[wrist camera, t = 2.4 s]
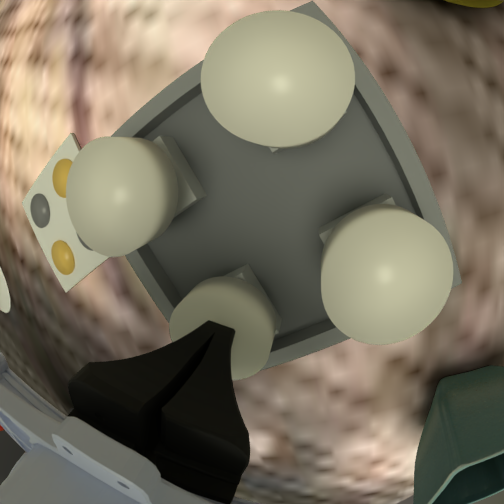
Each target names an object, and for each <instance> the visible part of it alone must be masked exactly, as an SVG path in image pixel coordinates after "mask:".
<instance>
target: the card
mask: <svg viewBox="0 0 504 504" xmlns="http://www.w3.org/2000/svg"><path fill="white" fill-rule="evenodd" d="M80 150H81V148H80V146H79V144H78V141H77V139H76V137H75V134H74V133H70V135H69V136H68V137H67V138H66V140H65V141H64V142H63V143H62V145H61V146H60V147H59V149H58V150H57V151H56V153H55V154H54V155H53V157H52V158H51V159H50V161H49V162H48V163H47V165H46V166H45V168H44V169H43V171H42V172H41V174H40V175H39V176H38V178H37V179H36V181H35V183H34V184H33V186H32V187H31V189H30V190H29V192H28V194H27V195H26V197H25V198H24V200H23V202H22V204H23V207H24V209H25V212H26V214H27V217H28V219H29V221H30V224H31V226H32V228H33V230H34V233H35V235H36V237H37V239H38V241H39V243H40V245H41V248H42V250H43V252H44V254H45V256H46V258H47V260H48V261H49V263H50V265H51V267H52V269H53V271H54V273H55V275H56V276H57V278H58V280H59V282H60V284H61V285H62V287H63V289H64V290H65V292H68V291H69V290H70V289H71V288H73V287H74V286H75V285H76V284H77V283H79V282H80V281H81V280H82V279H83V278H85V277H86V276H87V275H88V274H89V273H91V272H92V271H93V270H94V269H96V268H97V267H98V266H99V265H101V264H102V263H103V262H104V261H106V260H107V259H108V258H109V256H104V255H101V254H99V253H97V252H95V251H94V250H92V249H91V248H90V247H88V246H87V245H86V244H85V243H84V242H83V240H82V239H81V238H80V237H79V235H78V234H77V232H76V230H75V229H74V226H73V224H72V222H71V219H70V216H69V213H68V209H67V202H66V184H67V178H68V173H69V170H70V167H71V165H72V163H73V161H74V159H75V157H76V155H77V154H78V153H79V151H80Z"/></svg>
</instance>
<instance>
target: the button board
mask: <svg viewBox="0 0 504 504" xmlns="http://www.w3.org/2000/svg"><path fill="white" fill-rule="evenodd" d="M290 11H292V12H297V13H301V14H304V15H307V16H310V17H312V18H315V19H317V20H319V21H320V22H322V23H324V24H325V25H327V26H328V27H329V28H330V29H332V30H333V31H334V32H335V33H336V34H337V35H338V36H339V37H340V38H341V40H342V41H343V43H344V44H345V45H346V47H347V49H348V51H349V53H350V55H351V58H352V61H353V64H354V70H355V86H354V92H353V95H352V98H351V101H350V103H349V105H348V107H347V109H346V111H345V112H344V114H343V116H342V117H341V119H340V120H339V122H338V123H337V125H336V126H335V127H334V128H333V129H332V130H331V131H330V132H329V133H328V134H326V135H325V136H324V137H322V138H321V139H319V140H317V141H315V142H313V143H311V144H308V145H305V146H302V147H297V148H288V149H280V148H272V147H266V146H263V145H259V144H256V143H253V142H249V141H246V140H244V139H242V138H239V137H237V136H236V135H234V134H232V133H231V132H229V131H228V130H227V129H225V128H224V127H223V126H222V125H221V124H220V123H219V122H218V121H217V120H216V119H215V118H214V116H213V115H212V114H211V112H210V111H209V109H208V107H207V105H206V103H205V100H204V97H203V94H202V89H201V70H202V65H203V61H204V60H203V61H201V62H200V63H198V64H197V65H195V66H194V67H192V68H191V69H190V70H188V71H187V72H186V73H184V74H183V75H181V76H180V77H179V78H177V79H176V80H175V81H174V82H172V83H171V84H170V85H168V86H167V87H166V88H165V89H163V90H162V91H161V92H160V93H158V94H157V95H156V96H155V97H154V98H152V99H151V100H150V101H149V102H148V103H146V104H145V105H144V106H143V107H142V108H141V109H140V110H138V111H137V112H136V113H135V114H134V115H133V116H132V117H131V118H130V119H128V120H127V121H126V122H125V123H124V124H123V125H122V126H121V127H120V128H119V129H118V130H117V131H116V132H115V133H114V134H113V135H112V136H111V137H133V138H142V139H146V140H149V141H151V142H153V143H154V144H156V145H157V146H159V147H160V148H161V149H162V150H163V151H164V152H165V154H166V155H167V156H168V158H169V159H170V161H171V163H172V165H173V167H174V170H175V173H176V177H177V181H178V204H177V208H176V212H175V215H174V218H173V220H172V221H171V223H170V225H169V226H168V228H167V229H166V230H165V231H164V232H163V234H161V235H160V236H159V237H158V238H156V239H154V240H152V241H150V242H149V243H147V244H145V245H143V246H141V247H140V248H138V249H136V250H134V251H132V252H131V253H129V254H126V255H125V256H126V258H127V260H128V261H129V263H130V265H131V266H132V268H133V269H134V271H135V273H136V274H137V276H138V277H139V279H140V281H141V282H142V284H143V285H144V287H145V288H146V290H147V292H148V293H149V295H150V296H151V298H152V299H153V301H154V302H155V304H156V305H157V307H158V308H159V310H160V311H161V312H162V314H163V315H164V317H165V318H166V320H167V321H168V323H170V318H171V315H172V313H173V311H174V309H175V308H176V307H177V305H178V304H179V303H180V302H181V301H182V300H183V299H184V298H185V297H186V296H187V295H188V293H189V292H190V291H191V290H192V289H193V288H194V287H195V286H196V285H197V284H199V283H200V282H202V281H204V280H206V279H209V278H212V277H219V276H227V277H234V278H237V279H241V280H243V281H246V282H248V283H250V284H251V285H253V286H254V287H256V288H257V289H258V290H260V291H261V292H262V293H263V294H264V295H265V296H266V297H267V299H268V300H269V302H270V303H271V305H272V307H273V309H274V312H275V316H276V324H277V325H276V332H275V336H274V339H273V343H272V347H271V350H270V354H269V358H268V360H267V362H266V364H265V365H264V367H263V368H262V369H261V370H264V369H267V368H270V367H273V366H276V365H279V364H283V363H286V362H288V361H291V360H294V359H297V358H300V357H303V356H306V355H308V354H311V353H314V352H317V351H319V350H322V349H325V348H327V347H330V346H332V345H335V344H337V343H340V342H342V341H345V340H347V339H350V337H348V336H347V335H345V334H344V333H342V332H341V331H340V330H339V329H338V328H337V327H336V326H335V325H334V324H333V322H332V321H331V319H330V318H329V316H328V315H327V312H326V310H325V308H324V304H323V301H322V294H321V257H322V252H323V248H324V245H325V243H326V240H327V238H328V237H329V235H330V233H331V232H332V230H333V229H334V228H335V226H336V225H337V224H338V223H339V222H340V221H341V220H342V219H343V218H345V217H346V216H347V215H348V214H350V213H352V212H353V211H355V210H357V209H360V208H362V207H365V206H368V205H373V204H391V205H396V206H399V207H402V208H404V209H406V210H408V211H410V212H412V213H414V214H415V215H417V216H419V217H420V218H422V219H423V220H425V221H427V222H428V223H429V224H431V225H432V226H433V227H435V228H436V229H437V230H438V231H439V233H440V234H441V235H442V236H443V238H444V239H445V241H446V243H447V245H448V247H449V250H450V253H451V256H452V261H453V281H452V287H451V289H452V288H454V287H456V286H457V285H459V284H461V283H462V281H461V277H460V273H459V269H458V265H457V261H456V257H455V254H454V250H453V247H452V244H451V240H450V237H449V234H448V231H447V228H446V225H445V222H444V219H443V216H442V213H441V210H440V208H439V205H438V202H437V200H436V197H435V194H434V192H433V189H432V187H431V185H430V182H429V180H428V177H427V175H426V173H425V171H424V168H423V166H422V164H421V162H420V159H419V157H418V155H417V153H416V151H415V149H414V147H413V145H412V143H411V141H410V139H409V137H408V135H407V133H406V131H405V129H404V127H403V126H402V124H401V122H400V120H399V118H398V117H397V115H396V113H395V111H394V110H393V108H392V106H391V104H390V103H389V101H388V99H387V98H386V96H385V94H384V93H383V91H382V90H381V88H380V87H379V85H378V83H377V82H376V80H375V79H374V77H373V76H372V74H371V73H370V71H369V70H368V68H367V67H366V66H365V64H364V63H363V61H362V60H361V59H360V57H359V56H358V54H357V53H356V52H355V50H354V49H353V48H352V46H351V45H350V44H349V43H348V41H347V40H346V39H345V37H344V36H343V35H342V34H341V32H340V31H339V30H338V29H337V28H336V26H335V25H334V24H333V23H332V22H331V20H330V19H329V18H328V17H327V16H326V15H325V14H324V13H323V11H322V10H321V9H320V8H319V7H318V6H317V5H316V4H315V3H314V2H313V1H311V2H309V3H306V4H304V5H302V6H299V7H297V8H295V9H293V10H290ZM261 370H260V371H261Z"/></svg>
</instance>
